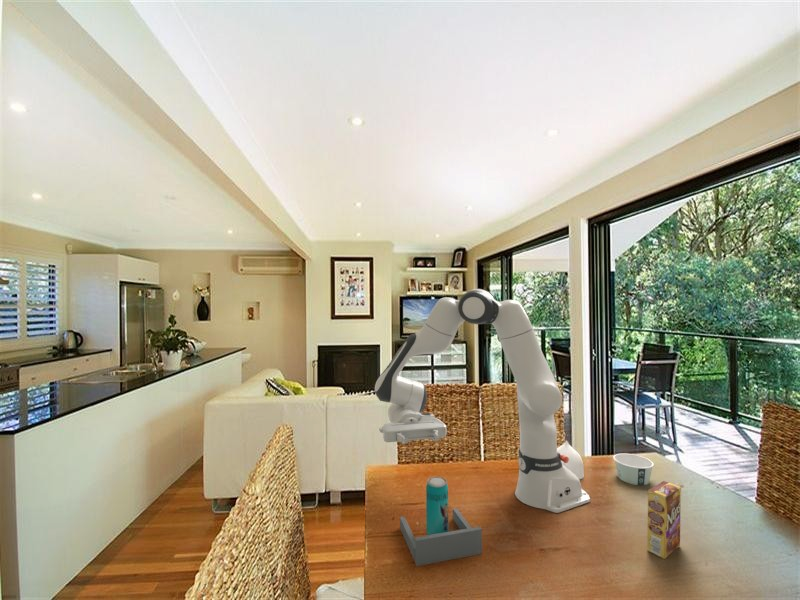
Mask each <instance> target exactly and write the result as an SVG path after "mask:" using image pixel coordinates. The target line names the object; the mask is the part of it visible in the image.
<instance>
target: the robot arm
mask: <svg viewBox="0 0 800 600" xmlns="http://www.w3.org/2000/svg"><path fill="white" fill-rule="evenodd" d="M530 320H531V319H530V318H529V316H528V314H527V312H526V311H525V309H524V308H523V306H522V304H521V303H520V302H519V301H518V300H515V299H504V300H502V301H497V299H496V298H495V297H494V295H493V294H492V292H490V291H488V290H485V289H482V288H473V289H471V290H469V291H466V292H465V293H464V294H462V295H461V297H460V299H456V298H452V297H446V296H445V297H442V298H440V299H438V300H437V302H435V304H434V306H433V307H432V309H431V311H430V312H429V315H427V318H426V320H425V322H424V324H423V326H422V327H421V328H420V329H419V330H418V331H417V332H415V333H412V334H409V335H408V337H406V339H405V340H404V341H403V343H402V344H401V346H400V347H399V348H398V350H397V351H396V353H395V354H394V356H393V357H392V359H391V360H390V362H389V364H388V365H387V366H386V368H385V369H384V370H383V372H382V373H381V374H380V375H379V377H378V378H377V380H376V382H375V384H374V391H373V392H374V393H375V395H376V397H377V398H378V400H379V401H380V402H385V403H391V404H390V405H389V406H388V410H387V416H388V421H389V423H385V424H383V425H382V427H379V428H378V430H379V432H380V433H382V439H383V441H384V442H386V443H397V442H398V443H402V444H403V445H407V444H409V441H418V440H419V441H420V440H431V439H432V441H433V442H439V441H440V439H441V438H445V437H447V431H448V429H447V425H446V424H445V423H444V422H443V421H442V420H441V419H439V418H437V417H435V414H433V413H429V412H428V413H425V412H424V413H423V411H424V409H425V407H426V405H427V401H428V391H427V389H426V386H425V384H424V383H423V382H420V381H418V380H414V379H410V378H407V377H404V376H401V375H400V374H401V372H402V370H403V368H404V367H405V366H406V364H407V363H408V361H409V360H410V359H411V358H413V357H415V356H421V355H435V354H440V353H443V352H445V351H446V350H447V349H449V347H450V346H451V345H452V343H453V341H454V339H455V336H456V334H457V333H458V330H459V328H460V326H461V325H462V324H463V323H464V322H466V323H469V324H473V325H492V326H493V327H494V329H495V332H496V334H497V338H498V340H499V342H500V345H501V348H502V350H503V353H504V356H505V358H506V360H507V361H506V362H507V363H508V367H509V368H510V370H511V373H512V376H513V377H514V380H515V383H516V398H517V410H518V411H517V412H518V421H519V422H518V423H519V449H518V468H519V470H518V471H519V472H518V479H517V483H516V484H517V485H516V487H515V492H514V494H515V497H516V498H517V499H518V500H519V501H520V503H521V502H522V503H523V504H524V505H525V504H526V505H527V506H530V507H533V508H537V509H541V510H547V511H549V512H552V513H556V514H557V513H558V514H559V513H562V512H564V511H567V510H570V509H573V508H576V507H579V506H582V505H585V504H587V503H590V502H591V498H590V495H589V494H588V493H587V492H586V491H585V490H584V489H583V488H582V484H581V480H580V479H578V477H577V476H576V475H575V474H574V473H572V472H571V471H570V470H569V469H567V468H566V467H565V466H564V465H562V462H561V461H563V462H564V463H568V461H569V458H568V457H567V456H565V455H560V453H558V452H557V448H558V441H557V440H558V438H557V437H558V433H557V431H558V429H557V424H556V421H555V414H556V413H557V412H558V411H559V410H560V408H561V407H562V404H563V397H562V393H561V390H560V388H559V385H558V383H557V380H556V378H555V376H554V374H553V372H552V369H551V368H550V365H549V364H548V361H547V359H546V357H545V355H544V353H543V351H542V349H541V346H540V343H539V341H538V338H537V335H536V332H535V329H534V327H533V325H532V322H531V321H530Z"/></svg>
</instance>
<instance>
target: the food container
mask: <svg viewBox="0 0 800 600" xmlns="http://www.w3.org/2000/svg"><path fill="white" fill-rule="evenodd" d="M612 458H613V460H614V462H615V468H616V472H617V478H619V480H621V481H622V482H625V483H627V484H630V485H635V486H647V485H649V484H650V480H651V476H652V475H651V474H652V471H653V467H654V466H655V465H654V462H653V461H652V460H650V459H649V458H647V457H644V456H642V455H637V454H632V453H616V454H615V455H613V457H612Z"/></svg>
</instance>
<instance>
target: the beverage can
mask: <svg viewBox="0 0 800 600" xmlns="http://www.w3.org/2000/svg"><path fill="white" fill-rule="evenodd" d="M426 483H427V484H426V489H425V490H426V493H425V496H426V497H425V498H426V499H425V500H426V503H425V504H426V511H425V512H426V533H427V535H433V534H438V533H444V532H450V531H449V529H450V528H449V485H448V481H447V479H446V478H444V477H442V476H432V477H431V476H430V477H429V478H428V479H427V482H426Z"/></svg>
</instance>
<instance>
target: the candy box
mask: <svg viewBox="0 0 800 600" xmlns="http://www.w3.org/2000/svg"><path fill="white" fill-rule="evenodd" d="M647 491H648V492H647V530H646V531H647V533H646V534H647V538H646V539H647V542H646V550H647V552H650V553H651V554H654V555H656V556H657V557H659V558H661V559H663V560H665V559H667V557H669V556H670V555H671V554H672V553H673V552H675V551H676V550H677V549H678V548H679V546H680V547H681V512H682V511H681V500H682V497H681V495H682V494H681V493H682V487H681V486H680V485H677V484H674V483H672V482H668V481H665V480H663V481H661V482H660V483H658V484H656V485H655V486H653V487H652V488H649V489H648V490H647Z"/></svg>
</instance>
